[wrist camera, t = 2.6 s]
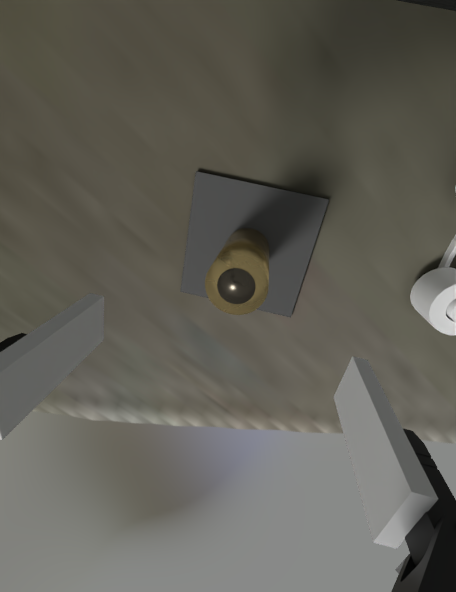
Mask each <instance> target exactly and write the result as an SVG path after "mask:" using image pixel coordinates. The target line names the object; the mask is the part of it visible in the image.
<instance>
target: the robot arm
mask: <svg viewBox="0 0 456 592" xmlns="http://www.w3.org/2000/svg"><path fill="white" fill-rule="evenodd" d="M103 340H104V296H100V295H96V294H92V293H89V294H88V295H86V296H85V297H83V298H82V299H80V300H79V301H77V302H76V303H74V304H73V305H71V306H70V307H68V308H67V309H65V310H64V311H62V312H61V313H59V314H58V315H56V316H55V317H53V318H52V319H50V320H49V321H47V322H46V323H44V324H42V325H41V326H39V327H38V328H36V329H35V330H33V331H32V332H30V333H29V334H23V333H21V334H18V335H15V336H12V337H10V338H7V339H5V340H4V341H2V342H1V343H0V440H3V439H4V438H5V437H6V436H7V435H8V434H9V433H10V432H11V431H12V430H13V429H14V428H15V427H16V426H17V425H18V424H19V423H20V422H21V421H22V420H23V419H24V418H25V417H26V416H27V415H28V414H29V413H30V412H31V411H32V410H33V409H34V408H35V407H36V406H37V405H38V404H39V403H40V402H41V401H42V400H43V399H44V398H45V397H46V396H47V395H48V394H49V393H50V392H51V391H52V390H53V389H54V388H55V387H56V386H57V385H58V384H59V383H60V382H61V381H62V380H63V379H64V378H65V377H67V376H68V375H69V374H70V373H71V372H72V371H73V370H74V369H75V368H76V367H77V366H78V365H79V364H80V363H81V362H82V361H83V360H84V359H85V358H86V357H87V356H88V355H89V354H90V353H91V352H92V351H93V350H94V349H95V348H96V347H97V346H98V345H99V344H100V343H101V342H102V341H103ZM334 400H335V404H336V408H337V411H338V415H339V419H340V422H341V426H342V430H343V433H344V437H345V441H346V444H347V448H348V452H349V455H350V459H351V463H352V466H353V470H354V474H355V477H356V481H357V485H358V488H359V492H360V496H361V499H362V503H363V506H364V510H365V514H366V517H367V521H368V524H369V528H370V532H371V536H372V540H373V542H374V543H378V544H381V545H385V546H389V547H392V548H396V549H397V548H398V546H399V545H400V544H401V543H402V542H403V540H404V539H405V540H406V542H407V545H408V548H409V551H410V554H409V555H408V556H407V557H406V559H405V560H404V561H403V562H402V563H401V564H400V565H399V566H398V568H397V569H396V571H397V572H398V573H399V575H398V578H397V580H396V582H395V585H394V587H393V589H392V592H456V500H455V498H454V496H453V495H452V493H451V491H450V489H449V487H448V486H447V484H446V482H445V480H444V479H443V477H442V475H441V473H440V471H439V470H437V466H436V464H435V462H434V461H433V459H431V455H430V453H429V452H428V450H427V448H426V446H425V445H424V443H423V442H422V441H421V440H420V439H419V438H418V436H417V435H416V434H415V433H414V432H413V431H411V430H407V429H403V428H402V426H401V424H400V422H399V420H398V419H397V417H396V415H395V413H394V411H393V409H392V407H391V405H390V403H389V401H388V399H387V397H386V395H385V393H384V391H383V389H382V387H381V385H380V383H379V381H378V379H377V377H376V375H375V373H374V371H373V369H372V367H371V365H370V363H369V361H368V360H366V359H362V358H357V357H353V356H352V358H351V361H350V363H349V365H348V367H347V369H346V371H345V374H344V376H343V378H342V380H341V382H340V384H339V387H338V389H337V391H336V393H335V395H334Z"/></svg>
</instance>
